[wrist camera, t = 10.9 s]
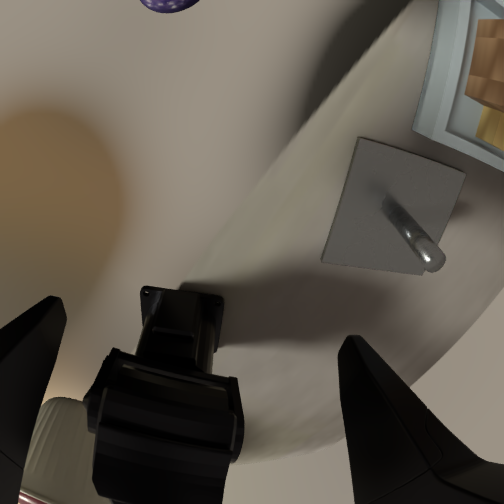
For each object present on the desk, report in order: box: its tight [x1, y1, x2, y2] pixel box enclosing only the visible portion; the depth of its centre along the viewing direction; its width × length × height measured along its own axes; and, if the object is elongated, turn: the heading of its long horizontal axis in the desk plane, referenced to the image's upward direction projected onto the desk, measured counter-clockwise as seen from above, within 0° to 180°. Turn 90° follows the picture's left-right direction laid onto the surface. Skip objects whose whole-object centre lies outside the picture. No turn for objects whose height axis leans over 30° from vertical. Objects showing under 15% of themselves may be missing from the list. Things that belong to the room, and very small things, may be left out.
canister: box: [18, 397, 111, 504], centre depth 28 cm, size 18×18×21 cm
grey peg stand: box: [321, 137, 466, 276], centre depth 18 cm, size 9×9×6 cm
